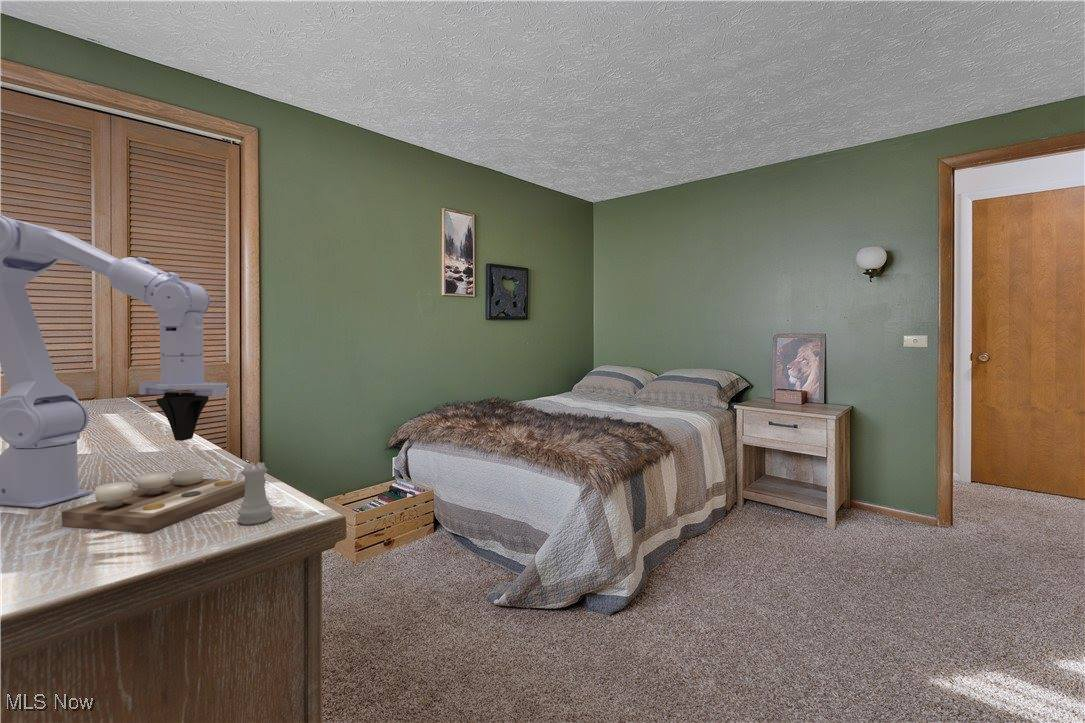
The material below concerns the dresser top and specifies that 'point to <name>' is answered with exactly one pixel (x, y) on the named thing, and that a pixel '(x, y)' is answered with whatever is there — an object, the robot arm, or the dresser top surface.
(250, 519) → the rook chess piece
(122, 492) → the button near
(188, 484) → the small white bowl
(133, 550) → the dresser top surface
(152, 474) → the button mid
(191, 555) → the dresser top surface
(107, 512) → the board
